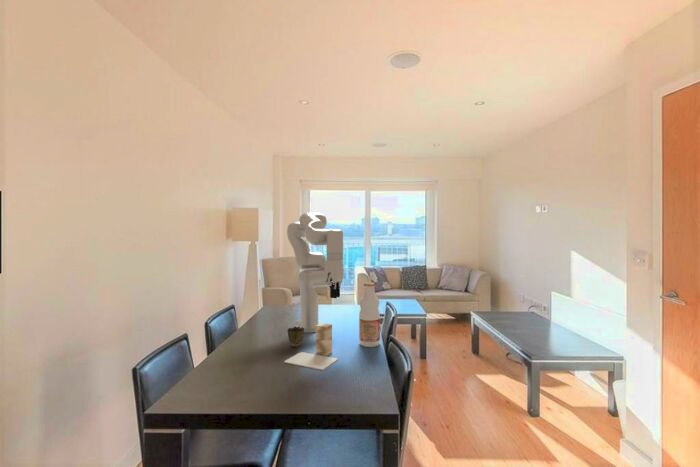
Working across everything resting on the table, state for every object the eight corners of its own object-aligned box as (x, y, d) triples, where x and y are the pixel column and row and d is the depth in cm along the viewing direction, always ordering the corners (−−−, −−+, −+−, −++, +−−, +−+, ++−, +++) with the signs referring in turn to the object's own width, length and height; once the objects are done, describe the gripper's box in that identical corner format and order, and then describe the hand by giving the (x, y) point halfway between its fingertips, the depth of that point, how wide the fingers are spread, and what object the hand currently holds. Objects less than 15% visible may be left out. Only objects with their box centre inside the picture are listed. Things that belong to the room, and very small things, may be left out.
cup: (284, 347, 153) (284, 329, 153) (294, 342, 159) (294, 325, 159) (297, 350, 149) (297, 331, 149) (307, 345, 156) (307, 327, 156)
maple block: (315, 354, 144) (315, 325, 144) (322, 350, 149) (322, 322, 149) (326, 355, 142) (326, 327, 142) (332, 352, 147) (332, 324, 147)
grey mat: (283, 362, 135) (283, 361, 135) (301, 352, 146) (301, 351, 146) (322, 370, 127) (322, 369, 127) (338, 359, 138) (338, 358, 138)
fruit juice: (355, 343, 158) (355, 282, 158) (371, 339, 163) (371, 281, 163) (367, 349, 150) (367, 285, 150) (384, 345, 155) (383, 283, 155)
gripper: (336, 255, 163) (336, 293, 163) (318, 257, 149) (318, 299, 149) (350, 255, 160) (350, 295, 160) (333, 258, 146) (333, 301, 146)
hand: (335, 297), depth 154 cm, fingers closed
